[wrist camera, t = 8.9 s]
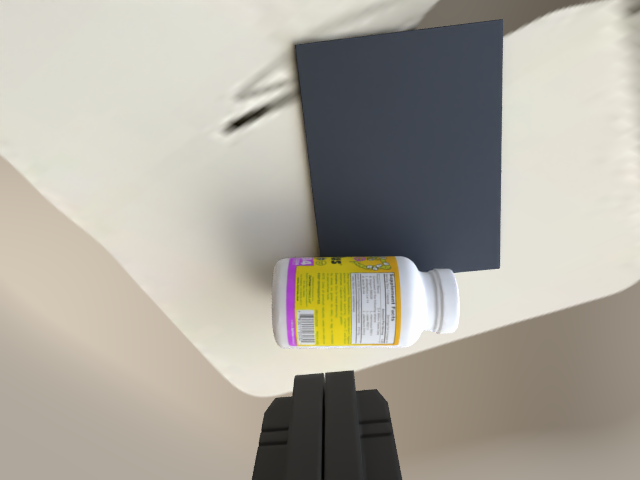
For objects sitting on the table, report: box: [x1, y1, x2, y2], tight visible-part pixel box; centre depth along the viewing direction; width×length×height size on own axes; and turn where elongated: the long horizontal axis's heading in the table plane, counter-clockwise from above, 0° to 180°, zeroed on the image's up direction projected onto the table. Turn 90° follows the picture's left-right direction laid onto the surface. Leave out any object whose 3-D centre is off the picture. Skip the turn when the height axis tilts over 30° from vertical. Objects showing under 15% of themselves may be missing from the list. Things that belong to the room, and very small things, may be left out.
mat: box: [295, 19, 503, 273], centre depth 34 cm, size 18×14×1 cm
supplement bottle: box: [272, 256, 459, 348], centre depth 34 cm, size 7×7×13 cm
